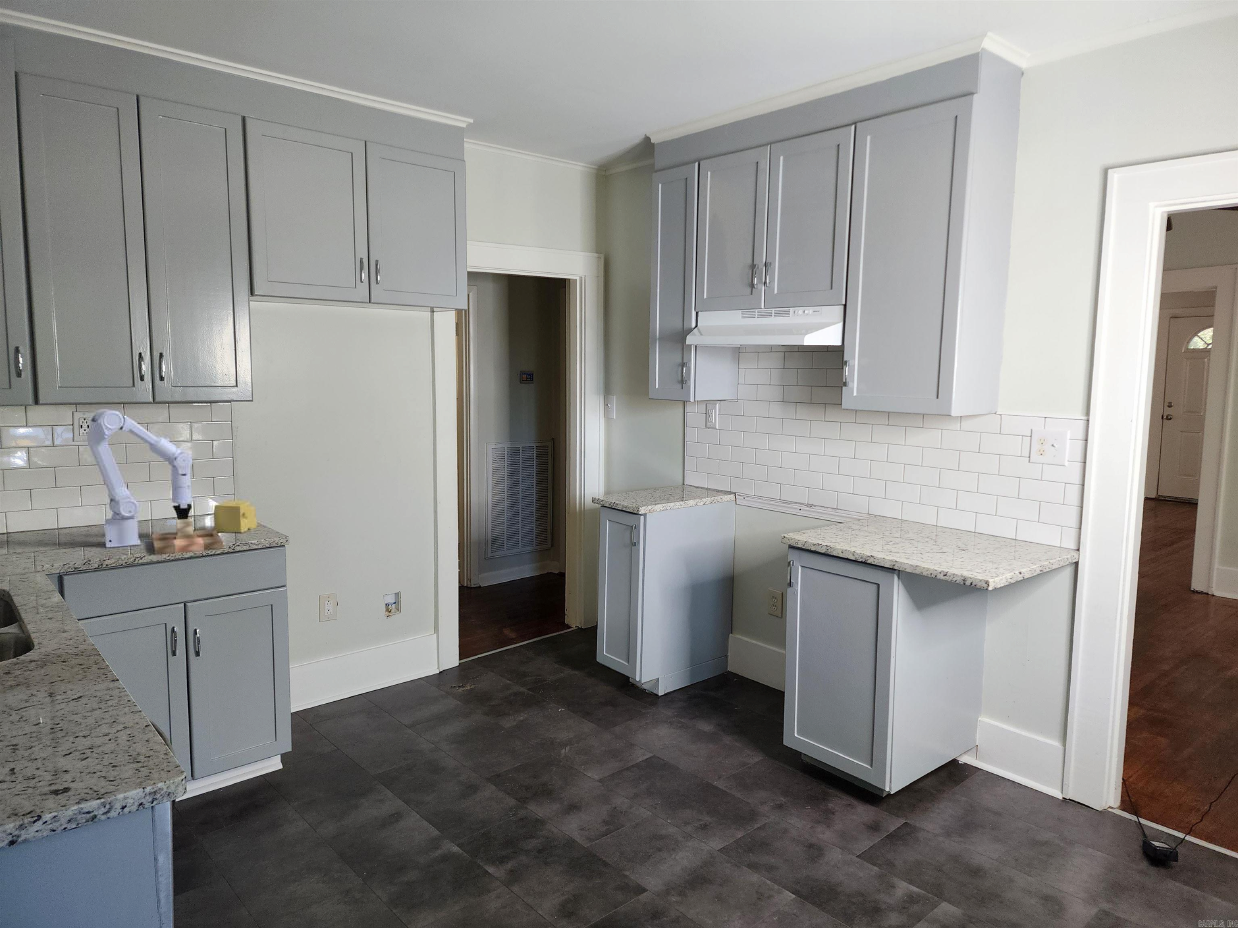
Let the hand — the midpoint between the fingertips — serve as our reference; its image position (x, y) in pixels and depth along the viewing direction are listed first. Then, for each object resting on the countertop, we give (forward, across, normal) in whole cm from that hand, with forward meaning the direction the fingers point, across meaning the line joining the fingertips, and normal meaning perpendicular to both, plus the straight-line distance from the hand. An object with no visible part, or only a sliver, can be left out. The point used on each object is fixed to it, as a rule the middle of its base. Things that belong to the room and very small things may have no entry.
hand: (182, 525), depth 279 cm
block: (+1, -7, 0) cm, 7 cm away
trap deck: (+4, -14, 0) cm, 15 cm away
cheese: (+4, +6, -17) cm, 18 cm away
